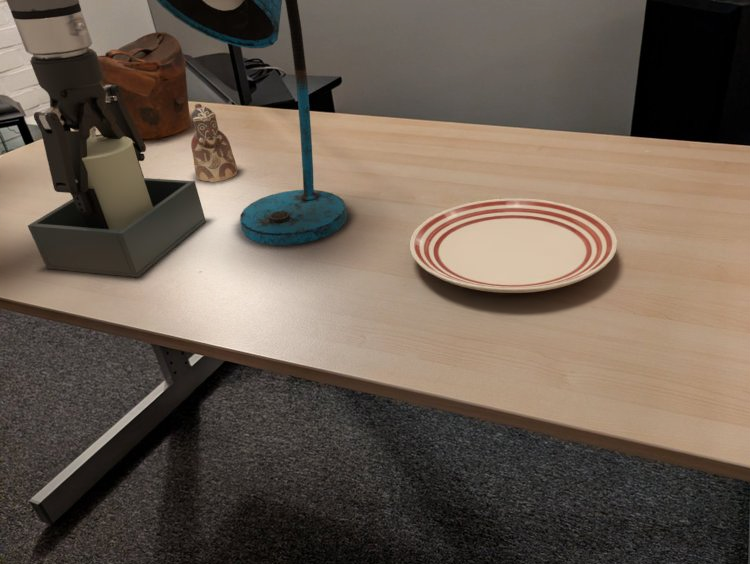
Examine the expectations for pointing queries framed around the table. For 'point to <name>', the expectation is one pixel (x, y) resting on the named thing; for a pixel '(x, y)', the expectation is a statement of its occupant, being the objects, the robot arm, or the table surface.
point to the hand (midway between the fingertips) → (121, 218)
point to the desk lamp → (308, 206)
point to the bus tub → (120, 233)
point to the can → (116, 180)
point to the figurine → (211, 148)
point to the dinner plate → (513, 245)
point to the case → (151, 83)
